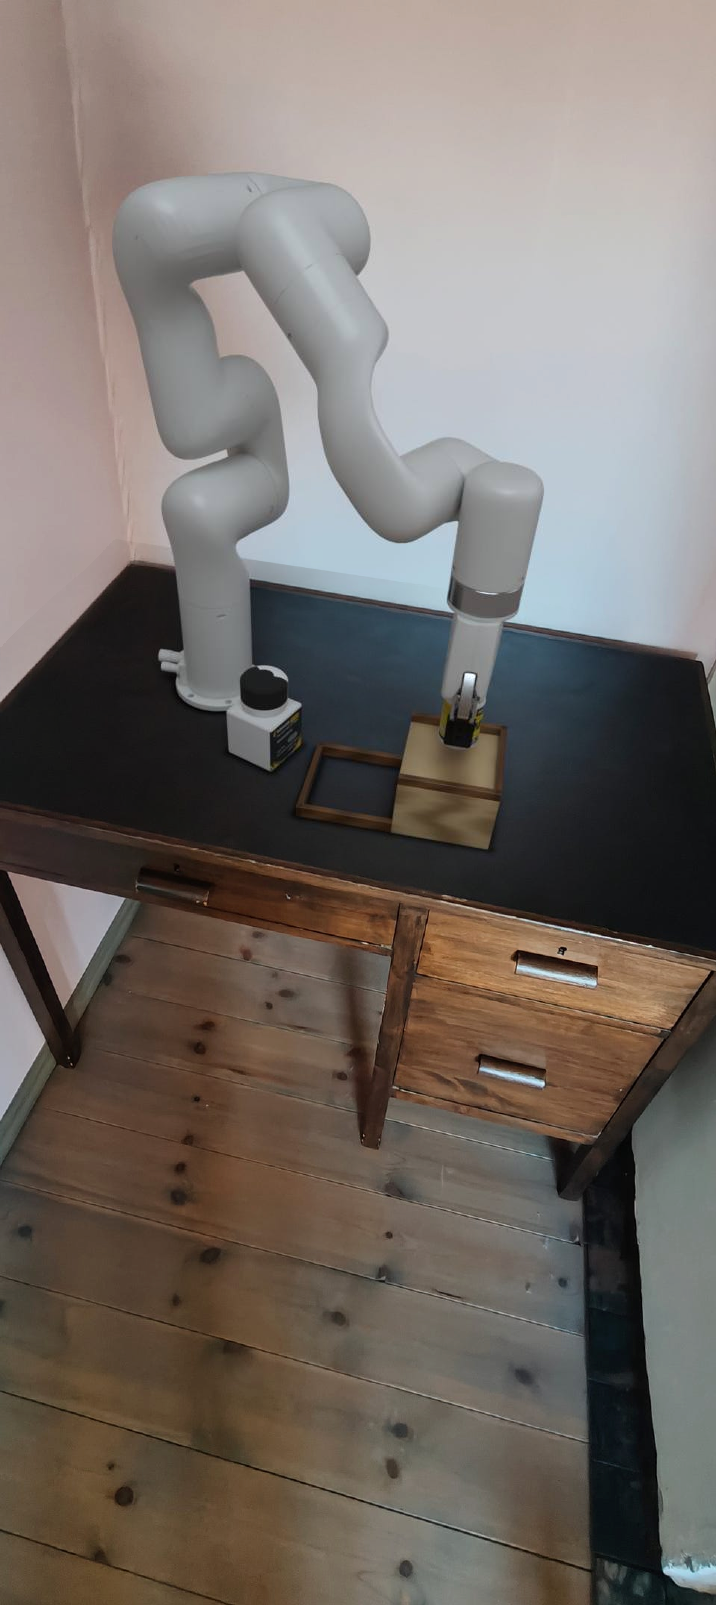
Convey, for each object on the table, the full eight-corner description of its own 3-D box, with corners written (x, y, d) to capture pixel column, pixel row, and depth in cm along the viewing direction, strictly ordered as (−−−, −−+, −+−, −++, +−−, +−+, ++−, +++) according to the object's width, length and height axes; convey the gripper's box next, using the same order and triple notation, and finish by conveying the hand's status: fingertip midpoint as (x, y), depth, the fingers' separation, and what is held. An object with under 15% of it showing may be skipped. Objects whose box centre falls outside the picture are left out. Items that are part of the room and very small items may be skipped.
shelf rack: (295, 815, 103) (296, 759, 96) (318, 750, 112) (320, 695, 106) (487, 849, 101) (501, 794, 94) (494, 780, 110) (507, 725, 104)
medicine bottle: (271, 773, 108) (270, 699, 100) (227, 752, 111) (223, 678, 102) (301, 744, 113) (303, 671, 104) (259, 725, 115) (257, 652, 107)
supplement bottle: (475, 754, 96) (487, 695, 90) (435, 747, 97) (445, 688, 91) (479, 729, 100) (491, 671, 94) (440, 722, 100) (450, 664, 94)
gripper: (456, 549, 91) (435, 684, 104) (439, 628, 79) (418, 771, 92) (524, 558, 91) (495, 693, 103) (518, 640, 78) (485, 782, 91)
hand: (459, 729), depth 97 cm, fingers closed on supplement bottle, 4 cm apart
